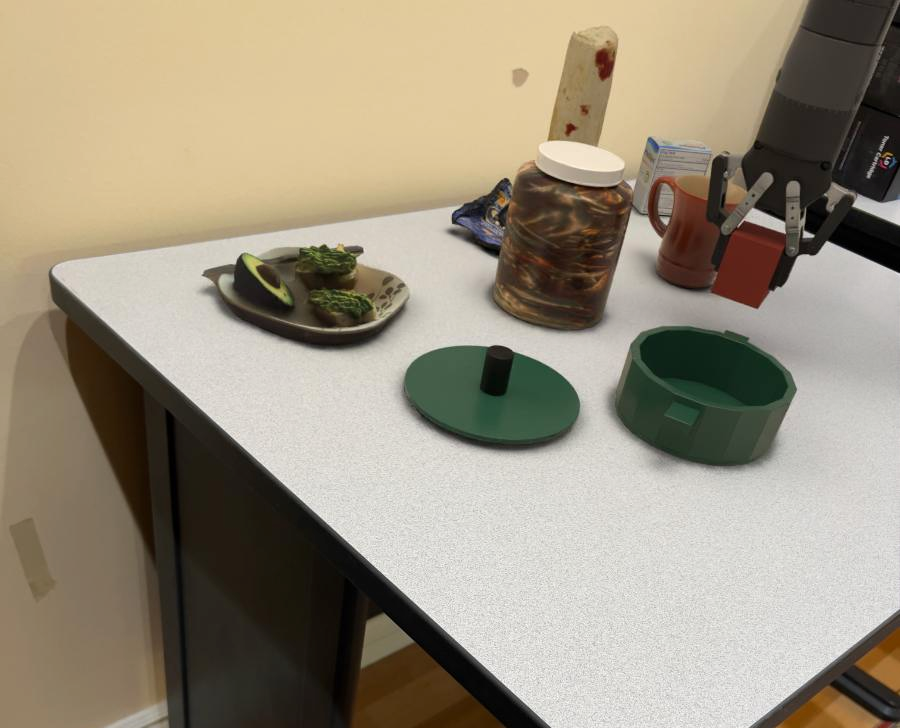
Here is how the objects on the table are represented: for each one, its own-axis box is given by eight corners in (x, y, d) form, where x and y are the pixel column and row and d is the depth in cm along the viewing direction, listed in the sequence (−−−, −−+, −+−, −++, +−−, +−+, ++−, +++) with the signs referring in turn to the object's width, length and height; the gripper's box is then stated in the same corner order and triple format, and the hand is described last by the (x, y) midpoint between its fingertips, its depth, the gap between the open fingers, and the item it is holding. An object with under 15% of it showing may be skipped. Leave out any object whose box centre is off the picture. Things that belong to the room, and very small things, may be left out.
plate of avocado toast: (294, 240, 97) (295, 197, 94) (439, 291, 93) (446, 247, 90) (182, 300, 83) (179, 252, 80) (347, 362, 80) (351, 314, 76)
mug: (733, 286, 106) (766, 197, 99) (691, 300, 101) (722, 208, 94) (655, 247, 112) (682, 161, 105) (612, 258, 107) (636, 169, 100)
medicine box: (680, 206, 125) (701, 140, 119) (693, 218, 122) (715, 151, 116) (629, 202, 123) (647, 134, 117) (640, 214, 120) (660, 146, 114)
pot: (791, 404, 86) (815, 353, 83) (742, 502, 73) (768, 446, 69) (652, 352, 90) (669, 301, 86) (580, 436, 76) (596, 379, 73)
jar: (575, 280, 100) (611, 138, 90) (619, 330, 93) (663, 180, 82) (478, 279, 97) (504, 131, 87) (515, 331, 89) (548, 175, 79)
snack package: (567, 255, 106) (523, 214, 113) (573, 202, 101) (526, 162, 108) (476, 276, 103) (436, 231, 110) (477, 221, 98) (436, 179, 105)
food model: (582, 215, 116) (625, 40, 103) (532, 205, 116) (568, 28, 103) (585, 191, 123) (626, 25, 110) (539, 181, 123) (573, 14, 110)
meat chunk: (768, 293, 92) (792, 235, 88) (757, 309, 88) (781, 250, 84) (722, 277, 93) (744, 220, 89) (710, 292, 90) (731, 233, 85)
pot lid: (602, 396, 82) (616, 350, 79) (534, 473, 71) (547, 423, 68) (454, 339, 86) (462, 292, 83) (369, 403, 75) (374, 353, 72)
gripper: (903, 108, 79) (820, 291, 90) (749, 65, 83) (688, 246, 94) (893, 124, 74) (806, 315, 85) (729, 77, 77) (667, 267, 89)
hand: (745, 278), depth 90 cm, fingers closed on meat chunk, 5 cm apart
